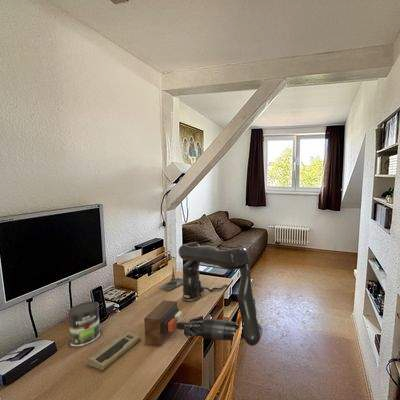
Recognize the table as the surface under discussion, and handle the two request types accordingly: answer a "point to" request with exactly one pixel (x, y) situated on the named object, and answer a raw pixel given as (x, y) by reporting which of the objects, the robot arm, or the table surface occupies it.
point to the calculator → (110, 307)
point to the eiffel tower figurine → (172, 283)
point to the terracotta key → (172, 325)
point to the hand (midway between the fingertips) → (177, 325)
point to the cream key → (178, 316)
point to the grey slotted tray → (113, 351)
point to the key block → (159, 322)
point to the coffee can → (84, 323)
